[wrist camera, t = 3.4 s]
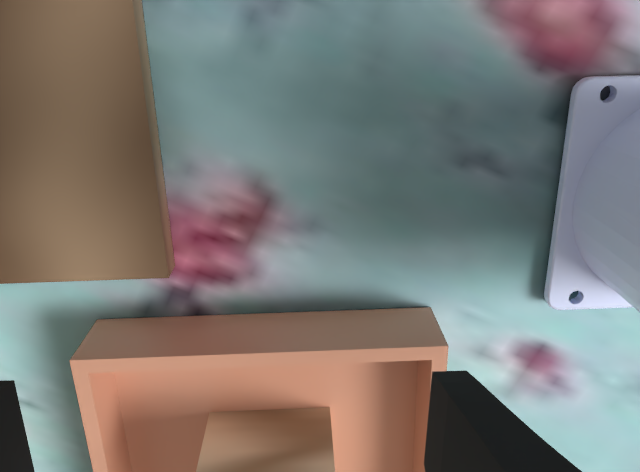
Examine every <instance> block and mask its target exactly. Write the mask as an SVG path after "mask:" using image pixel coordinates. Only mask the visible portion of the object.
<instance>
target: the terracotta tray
mask: <svg viewBox="0 0 640 472" xmlns="http://www.w3.org/2000/svg"><path fill="white" fill-rule="evenodd" d="M447 358H448V344H447V342H446V340H445V338H444V335H443V333H442V331H441V329H440V327H439V325H438V322H437V320H436V318H435V316H434V314H433V311H432V309H431V307H423V308H396V309H368V310H341V311H313V312H286V313H259V314H231V315H204V316H176V317H149V318H122V319H97V320H96V322H95V323H94V325H93V326H92V328H91V329H90V331H89V332H88V334H87V335H86V337H85V338H84V340H83V341H82V343H81V344H80V346H79V347H78V349H77V350H76V351H75V353H74V354H73V356H72V357H71V359H70V360H69V361H70V365H71V370H72V375H73V379H74V384H75V389H76V393H77V398H78V403H79V407H80V412H81V417H82V421H83V426H84V431H85V436H86V440H87V445H88V450H89V454H90V459H91V464H92V468H93V472H196V469H197V465H198V461H199V456H200V452H201V447H202V443H203V439H204V434H205V430H206V425H207V421H208V417H209V412H222V411H246V410H271V409H295V408H320V407H330V415H331V427H332V440H333V452H334V465H335V472H425V467H424V456H425V445H426V434H427V423H428V412H429V401H430V390H431V379H432V372H434V371H447Z"/></svg>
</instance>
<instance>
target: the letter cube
mask: <svg viewBox="0 0 640 472" xmlns="http://www.w3.org/2000/svg"><path fill="white" fill-rule="evenodd" d="M196 472H335V465H334V452H333V440H332V427H331V415H330V407H320V408H295V409H271V410H246V411H222V412H209V417H208V421H207V425H206V430H205V434H204V439H203V443H202V447H201V452H200V456H199V461H198V465H197V469H196Z"/></svg>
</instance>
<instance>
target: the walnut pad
mask: <svg viewBox="0 0 640 472" xmlns="http://www.w3.org/2000/svg"><path fill="white" fill-rule="evenodd" d="M174 266H175V261H174V253H173V246H172V238H171V230H170V222H169V214H168V206H167V198H166V190H165V182H164V174H163V166H162V158H161V150H160V142H159V134H158V126H157V118H156V110H155V102H154V94H153V86H152V79H151V71H150V63H149V55H148V47H147V39H146V31H145V23H144V15H143V7H142V0H0V284H4V283H33V282H62V281H91V280H119V279H148V278H169V276H170V274H171V272H172V270H173V268H174Z"/></svg>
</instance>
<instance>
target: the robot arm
mask: <svg viewBox="0 0 640 472" xmlns="http://www.w3.org/2000/svg"><path fill="white" fill-rule="evenodd" d="M605 86H609V87H610V94H609V97H608V98H607V99H606V100H603V101H602V100H601V99H600V93H601V90H602V89H603V88H604V87H605ZM574 291H578V294H577V296H576V297H575V298H573V299H569V296H570V294H571V293H572V292H574ZM544 299H545V301H546V302H547V303H548V305H549V306H550V307H552V308H553V309H556V310H573V309H600V308H628V307H634V308H635V309H636V310H637V311H639V312H640V75H631V76H593V77H585V78H582V79H581V80H579V81H578V82H577V83H576V84H575V86H574V87H573V89H572V93H571V98H570V106H569V113H568V121H567V128H566V135H565V143H564V150H563V158H562V165H561V172H560V180H559V187H558V195H557V202H556V209H555V217H554V224H553V232H552V239H551V246H550V254H549V261H548V269H547V276H546V283H545V291H544ZM424 467H425V472H582V471H581V470H579V469H578V468H577V467H575V466H574V465H573V464H572V463H570V462H569V461H568V460H567V459H566V458H564V457H563V456H562V455H561V454H560V453H558V452H557V451H556V450H555V449H554V448H552V447H551V446H550V445H549V444H548V443H546V442H545V441H544V440H543V439H542V438H541V437H539V436H538V435H537V434H536V433H535V432H534V431H533V430H531V429H530V428H529V427H528V426H527V425H526V424H525V423H524V422H522V421H521V420H520V419H519V418H518V417H517V416H516V415H515V414H513V413H512V412H511V411H510V410H509V409H508V408H507V407H506V406H505V405H504V404H503V403H501V402H500V401H499V400H498V399H497V398H496V397H495V396H494V395H493V394H492V393H491V392H489V391H488V390H487V389H486V388H485V387H484V386H483V385H482V384H481V383H480V382H479V381H477V380H476V379H475V378H474V377H473V376H472V375H471V374H470V373H468V372H467V371H434V372H432V379H431V390H430V401H429V412H428V423H427V434H426V445H425V456H424ZM0 472H34V467H33V463H32V459H31V454H30V450H29V445H28V441H27V436H26V432H25V427H24V423H23V419H22V414H21V410H20V405H19V401H18V396H17V392H16V387H15V383H14V381H0Z"/></svg>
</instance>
